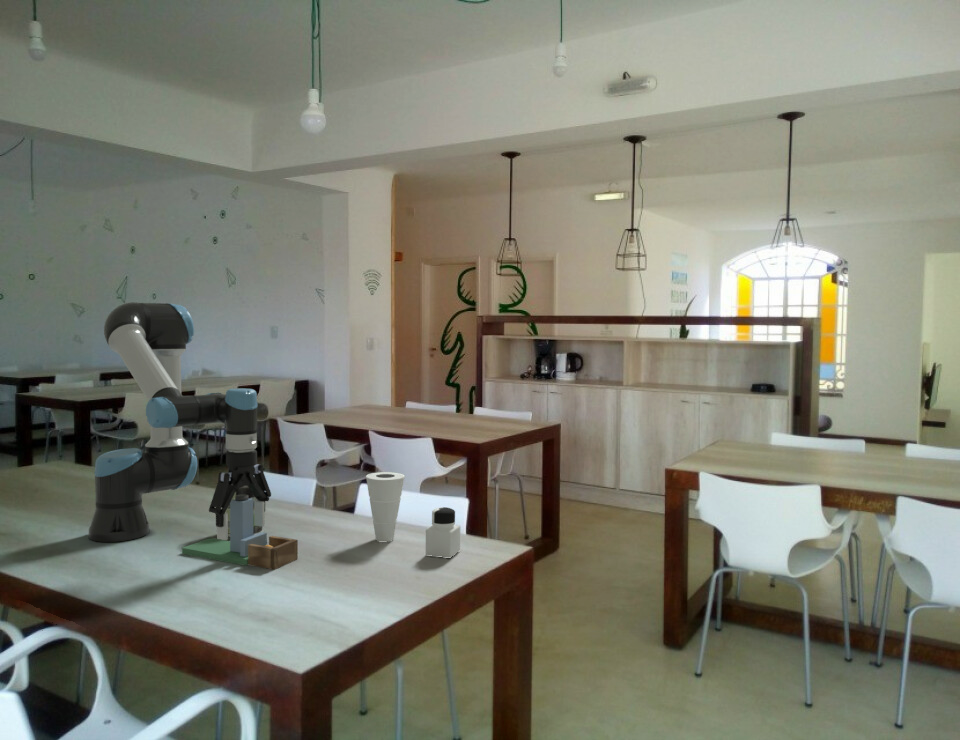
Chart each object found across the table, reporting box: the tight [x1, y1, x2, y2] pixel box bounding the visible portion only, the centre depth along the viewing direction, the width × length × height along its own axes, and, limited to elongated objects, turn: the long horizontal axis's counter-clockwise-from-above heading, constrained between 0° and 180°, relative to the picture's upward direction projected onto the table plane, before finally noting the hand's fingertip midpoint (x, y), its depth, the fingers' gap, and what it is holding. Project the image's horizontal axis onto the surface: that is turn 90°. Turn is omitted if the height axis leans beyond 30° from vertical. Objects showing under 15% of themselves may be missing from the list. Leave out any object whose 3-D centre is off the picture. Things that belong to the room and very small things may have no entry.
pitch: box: [181, 537, 249, 566], centre depth 189 cm, size 21×10×2 cm, turn 67°
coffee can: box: [225, 484, 264, 538], centre depth 208 cm, size 10×10×14 cm
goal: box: [247, 535, 299, 571], centre depth 184 cm, size 8×9×5 cm
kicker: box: [229, 494, 268, 557], centre depth 187 cm, size 7×8×14 cm
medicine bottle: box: [425, 506, 461, 558], centre depth 193 cm, size 7×7×12 cm
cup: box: [365, 471, 406, 542], centre depth 204 cm, size 11×11×18 cm
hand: (241, 532), depth 187 cm, fingers open, 13 cm apart
